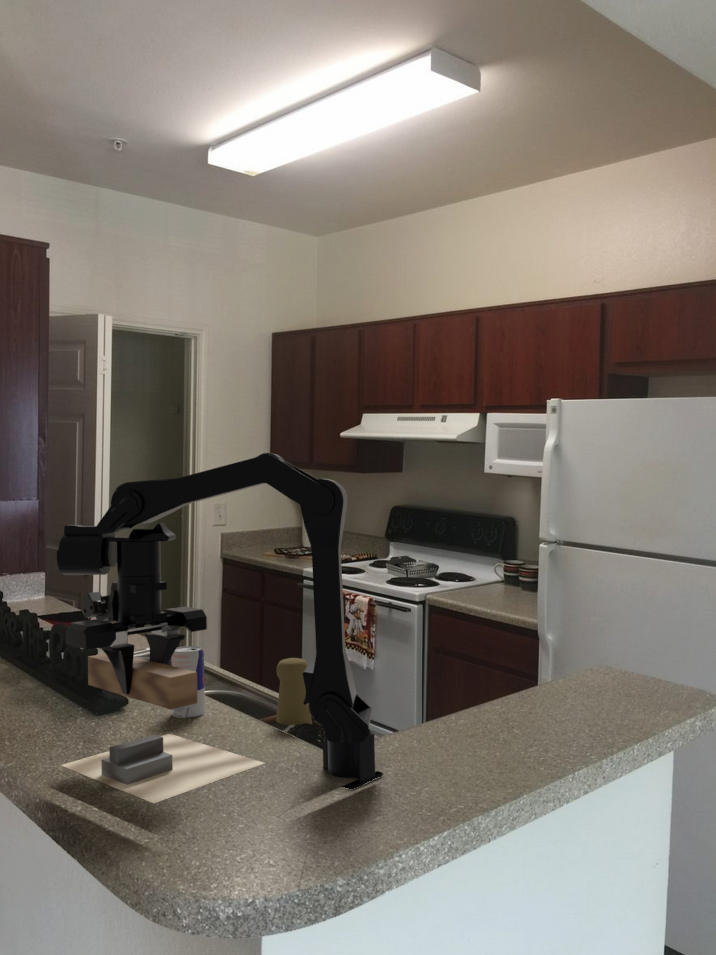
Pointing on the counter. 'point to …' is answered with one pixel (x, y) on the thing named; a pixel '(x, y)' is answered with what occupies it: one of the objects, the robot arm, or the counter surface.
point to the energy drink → (194, 661)
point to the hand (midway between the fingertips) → (140, 690)
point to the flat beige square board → (161, 766)
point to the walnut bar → (147, 681)
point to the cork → (292, 693)
